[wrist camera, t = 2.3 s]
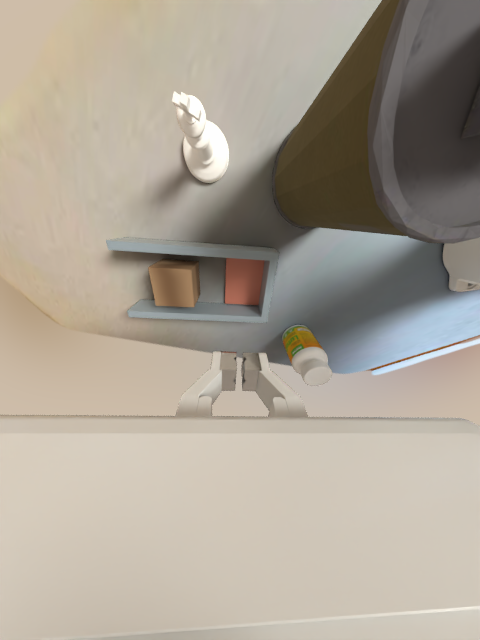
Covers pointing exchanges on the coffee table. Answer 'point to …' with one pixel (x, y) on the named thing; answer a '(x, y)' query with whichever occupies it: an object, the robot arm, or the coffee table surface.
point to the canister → (393, 130)
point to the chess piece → (201, 140)
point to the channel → (241, 280)
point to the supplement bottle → (306, 355)
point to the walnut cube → (175, 282)
